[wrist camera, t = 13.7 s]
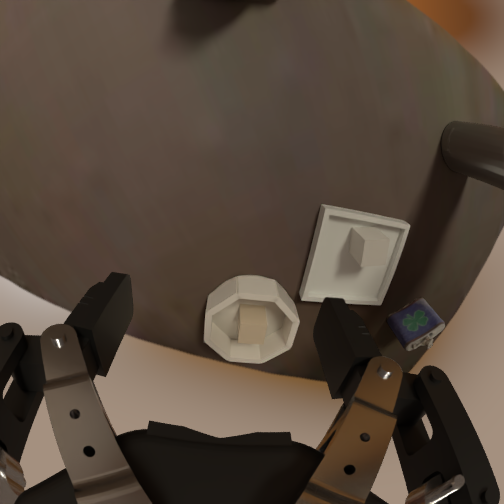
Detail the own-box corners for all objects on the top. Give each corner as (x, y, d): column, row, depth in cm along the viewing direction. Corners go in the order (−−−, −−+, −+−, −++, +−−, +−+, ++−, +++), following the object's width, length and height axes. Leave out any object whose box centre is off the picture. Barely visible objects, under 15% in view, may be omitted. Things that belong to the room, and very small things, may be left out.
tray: (403, 220, 40) (410, 225, 38) (376, 298, 46) (381, 305, 44) (321, 204, 38) (325, 208, 36) (299, 292, 44) (301, 300, 42)
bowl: (299, 279, 43) (306, 298, 38) (281, 343, 49) (285, 364, 44) (210, 269, 42) (207, 288, 37) (205, 337, 48) (202, 358, 43)
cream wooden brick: (264, 305, 44) (267, 325, 40) (261, 324, 46) (263, 344, 41) (240, 303, 44) (240, 323, 39) (237, 322, 45) (237, 342, 41)
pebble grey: (374, 226, 39) (389, 239, 34) (371, 250, 41) (385, 265, 36) (351, 227, 39) (364, 240, 34) (348, 251, 40) (360, 266, 36)
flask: (422, 294, 47) (450, 327, 37) (423, 304, 48) (450, 337, 38) (384, 316, 48) (408, 353, 38) (386, 325, 49) (409, 362, 39)
